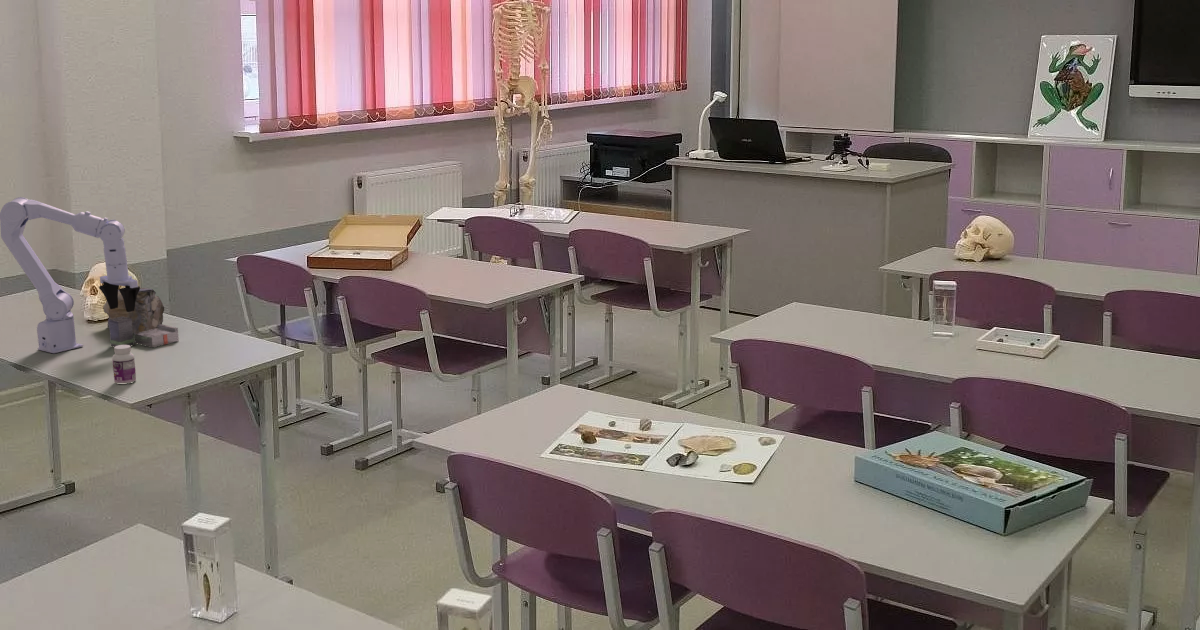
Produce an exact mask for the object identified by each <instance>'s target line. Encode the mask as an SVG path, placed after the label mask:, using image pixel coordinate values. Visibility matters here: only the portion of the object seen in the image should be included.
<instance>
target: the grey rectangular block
mask: <svg viewBox="0 0 1200 630" xmlns="http://www.w3.org/2000/svg"><path fill="white" fill-rule="evenodd" d="M108 322H109V328H108V329H109V338H110V340H109V343H110V347H111V346H114V347H115V346H118V345H130V346H131V345H133V346H135V338H134V333H133V330H132V318H127V317H123V316H121V317H117V318H113V319H109V318H108V319H107V323H108ZM114 347H113V348H114ZM131 347H132V346H131Z"/></svg>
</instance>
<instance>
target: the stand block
mask: <svg viewBox="0 0 1200 630" xmlns="http://www.w3.org/2000/svg"><path fill="white" fill-rule="evenodd" d="M157 326H158V328H156V329H152V330H147V331H143V332H139V333H135V334H134V333H133V337H134V344H135V343H138V344H137V345H139V344H142V345H141V346H143V345H146V346H145V347H147V346H150V347H149V348H152V347H154V348H157V346H158V347H161V346H165V345H169V344H173V343H177V342H179V340H180V338H179V327H175V326H170V325H166V324H163V323H162V324H158V325H157ZM160 345H161V346H160Z"/></svg>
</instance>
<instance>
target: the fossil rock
mask: <svg viewBox="0 0 1200 630" xmlns="http://www.w3.org/2000/svg"><path fill="white" fill-rule="evenodd" d="M156 294H157V292H156V291H155V290H154V289H152V288H148V287H140V290H139V292H138V294H137V297H136V302H135V309H134V311H131V312H127V311H126V308H125V303H124V299H123V297H122V295H121V293H120V291H119V289H118V308H115V309H110V307H109V305H108V302H107V300H106V301H105V302H104V305H103V306H102V309H103V312H104V314H106V315H107V316H108V319H113V318H117V317H121V316H123V317H127V318H132V330H133V335H134V334H135V333H139V332H143V331H147V330H152V329H156V328H158V326H157V325H158V324H162V325H163V322H164V315H163V314H164V312H165V306H164V304H163V302H162V300H161V298H160V297H159V296H158V295H156ZM108 327H109V322H108V321H107V328H108Z"/></svg>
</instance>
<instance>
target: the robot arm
mask: <svg viewBox="0 0 1200 630" xmlns="http://www.w3.org/2000/svg"><path fill="white" fill-rule="evenodd" d="M40 218H42V219H47V220H51V221H55V222H58V223H62V224H66V225H69V226H71V227H72V228H73V230H74V232H77V233H81V234H84V235H87V236H91V237H93V238H96V239H99V238H100V240H101V241H102V242H103V244H102V245H103V255H104V261H105V271H106V275H102V276H99V281H100V284H102V285H99V286H98V289H99V290H100V291H101V292H102V294H103V296H104V298H105V299H106V301H107V302H108V305H109V307H110V309H115V308H118V290H119V291H120V293H121V295H122V297H123V299H124V303H125V308H126V311H127V312H131V311H134V309H135V302H136V297H137V294H138V292H139V290H140V288H141V287H140V286H139V283H138V280H136V279H134V278H133V276H132V275H129V268H128V259H127V258H128V257H127V252H126V251H127V250H126V246H125V241H124V240H125V239H124V237H123V236H124V235H125V226H124V225H123V223H122V222H120V221H118V220H116V219H109V218H108V217H100V216H97V215H93V214H92V212H91V211H88V210H86V211H85V212H84V211H80V212H78V213H76V214H75V213H73V212H69V211H67V210H64V209H61V208H58V207H55V206H53V205H50V204H48V203H47V204H46V203H44V202H41V201H39V200H36V199H31V198H30V199H28V198H26V197H24V196H22V197H21V196H20V197H15V198H14V199H12V200H11V201H8V202H6V203H4V205H3V206H2V208H1V210H0V239H2V241H3V243H4V244H5V246H6V247H7V249H8V250H9V252H10V253H11V254H12V256H13V257H14V259H15V260H16V262H17V263H18V265H19V267H20V268H21V269H22V271H23V272H24V273H25V275H26V277H27V279H29V281H30V282H31V283H32V285H33V286H34V288H35V290H36V291H37V293H38V301H40V303H41V305H42V311H43V314H44V315H45V320H43V321H40V322H39V323H37V327H36V331H37V332H36V333H37V342H38V347H37V350H38V351H41V352H42V351H43V352H46V353H49V354H50V353H51V354H57V353H61V352H62V353H63V352H65V351H70V350H73V349H78V348H83V346H84V344H83V343H77V335H76V330H75V329H76V325H75V318H74V314H73V312H72V311H71V310H72V309H73V307H74V305H75V303H74V302H75V301H74V298H73V296H72V295H71V294H70V293H69V292H67V291H66V290H64V289H63V287H62V286H61V284H59V283H56V281H54V279H53V277H52V276H51V275H50V273H49V271H48V269H46V267H45V266H44V264H43V262H42V261H41V260H40V258H39V257H38V255H37V254H36V251H34V249H33V248H32V246H31V245H30V244H29V242H28V241H27V239H26V238H25V236H24V234H23V233H24V231H25V228H26V224H27V223H28V221H31V220H35V219H40ZM120 286H121V288H120Z"/></svg>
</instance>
